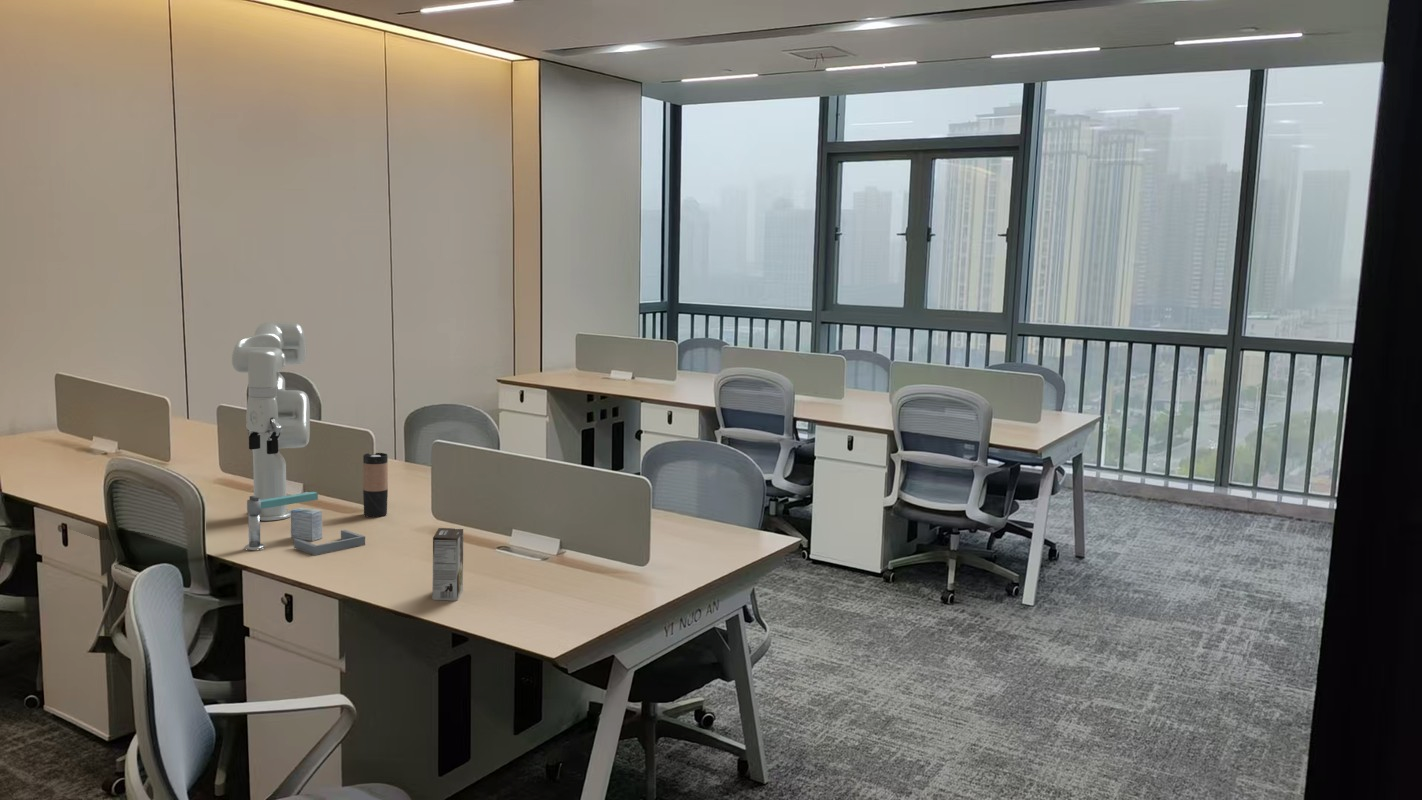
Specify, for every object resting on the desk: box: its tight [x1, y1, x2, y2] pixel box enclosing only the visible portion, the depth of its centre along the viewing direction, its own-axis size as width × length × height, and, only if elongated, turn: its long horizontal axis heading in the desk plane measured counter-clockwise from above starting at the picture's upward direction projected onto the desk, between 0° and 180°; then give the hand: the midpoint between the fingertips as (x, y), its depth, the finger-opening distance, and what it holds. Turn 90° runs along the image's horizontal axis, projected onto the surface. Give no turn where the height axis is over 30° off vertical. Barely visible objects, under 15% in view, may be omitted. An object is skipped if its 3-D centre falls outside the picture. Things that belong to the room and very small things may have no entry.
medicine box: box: [290, 507, 323, 542], centre depth 303 cm, size 8×4×9 cm, turn 71°
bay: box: [293, 529, 366, 556], centre depth 296 cm, size 10×16×2 cm, turn 142°
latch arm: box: [246, 491, 319, 515], centre depth 296 cm, size 4×21×5 cm, turn 142°
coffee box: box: [432, 527, 464, 601], centre depth 256 cm, size 9×6×16 cm
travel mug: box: [362, 452, 389, 518], centre depth 333 cm, size 8×8×20 cm
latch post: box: [244, 514, 265, 551], centre depth 290 cm, size 5×5×10 cm
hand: (263, 451), depth 298 cm, fingers open, 9 cm apart
